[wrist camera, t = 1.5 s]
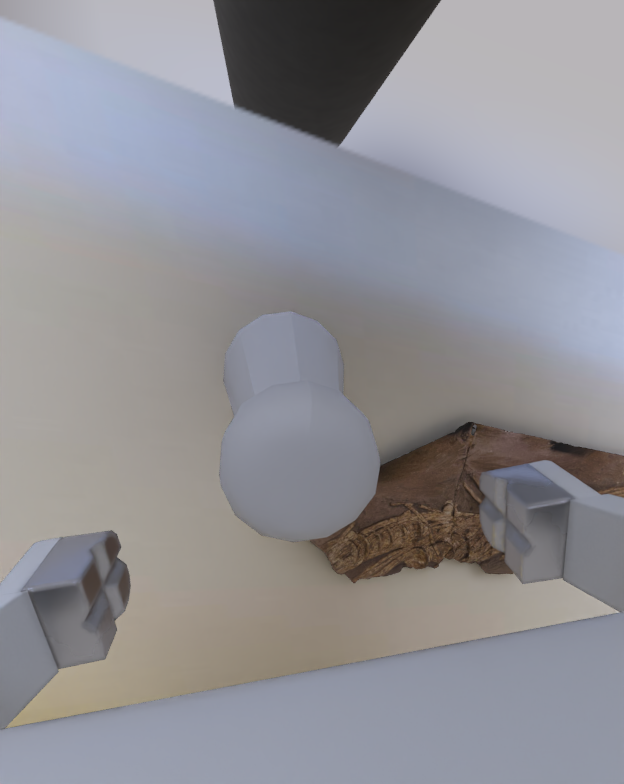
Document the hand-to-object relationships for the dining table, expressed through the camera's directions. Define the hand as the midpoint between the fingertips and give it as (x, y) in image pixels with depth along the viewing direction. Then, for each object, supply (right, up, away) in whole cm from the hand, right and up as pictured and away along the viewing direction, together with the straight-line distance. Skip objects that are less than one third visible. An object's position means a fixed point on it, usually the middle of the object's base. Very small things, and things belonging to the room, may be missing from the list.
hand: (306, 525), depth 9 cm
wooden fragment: (+12, -4, +17) cm, 21 cm away
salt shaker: (-2, +5, +13) cm, 14 cm away
